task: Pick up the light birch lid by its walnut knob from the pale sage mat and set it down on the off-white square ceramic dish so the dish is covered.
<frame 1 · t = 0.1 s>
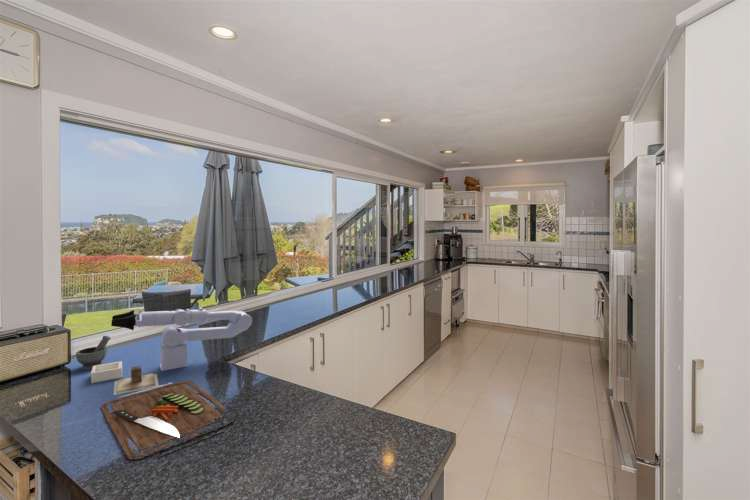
hand: (111, 320, 134), 22 cm above the countertop, tool horizontal, fingers open, 7 cm apart
mortar and pestle: (94, 366, 146), on the countertop
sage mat: (136, 384, 128), on the countertop
chopping board: (166, 415, 108), on the countertop
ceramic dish: (107, 377, 134), on the countertop
birch lid: (136, 383, 128), resting on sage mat
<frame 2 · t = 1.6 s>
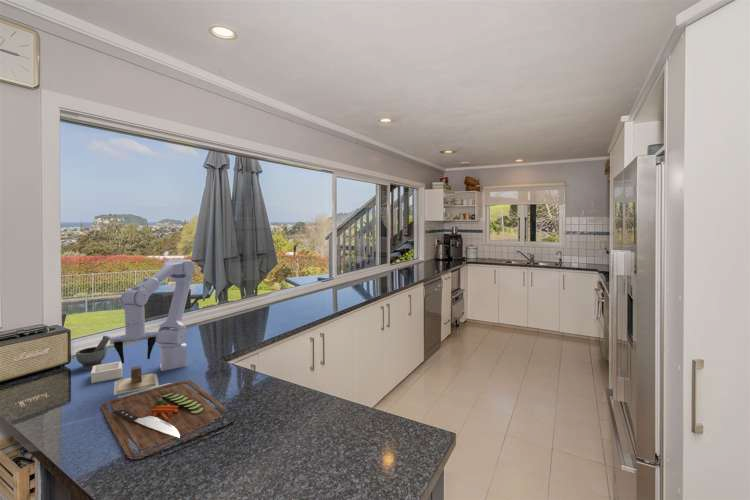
hand: (135, 360, 128), 9 cm above the countertop, tool pointing down, fingers open, 7 cm apart
nothing on the countertop moved.
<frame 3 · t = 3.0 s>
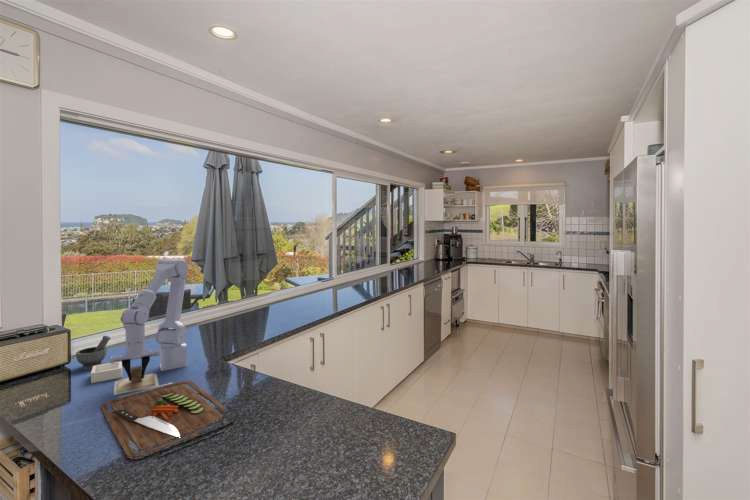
hand: (136, 378, 128), 2 cm above the countertop, tool pointing down, fingers closed on birch lid, 3 cm apart
birch lid: (136, 383, 128), resting on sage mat, touching gripper
everything else where it was.
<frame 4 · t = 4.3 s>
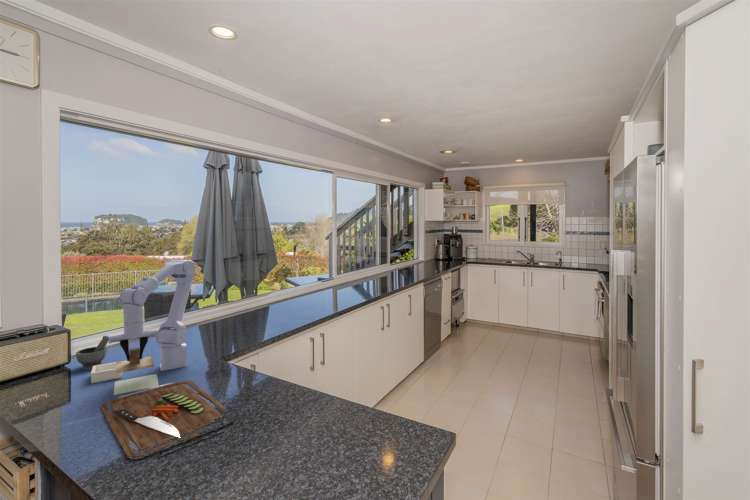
hand: (134, 359, 128), 9 cm above the countertop, tool pointing down, fingers closed on birch lid, 3 cm apart
birch lid: (134, 365, 128), point 7 cm above the countertop, touching gripper
everything else where it was.
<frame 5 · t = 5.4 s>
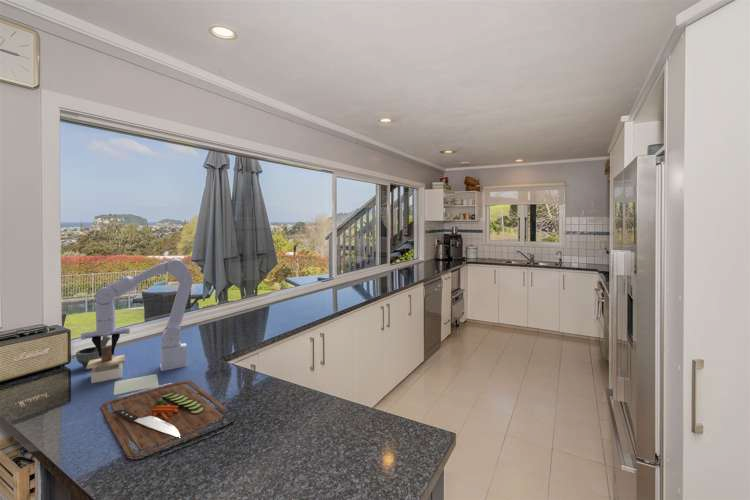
hand: (106, 354, 134), 9 cm above the countertop, tool pointing down, fingers closed on birch lid, 3 cm apart
birch lid: (106, 362, 134), point 6 cm above the countertop, touching gripper
everything else where it was.
when the fingers open (7 cm above the countertop, at t = 5.9 s): birch lid stays where it is, resting on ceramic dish.
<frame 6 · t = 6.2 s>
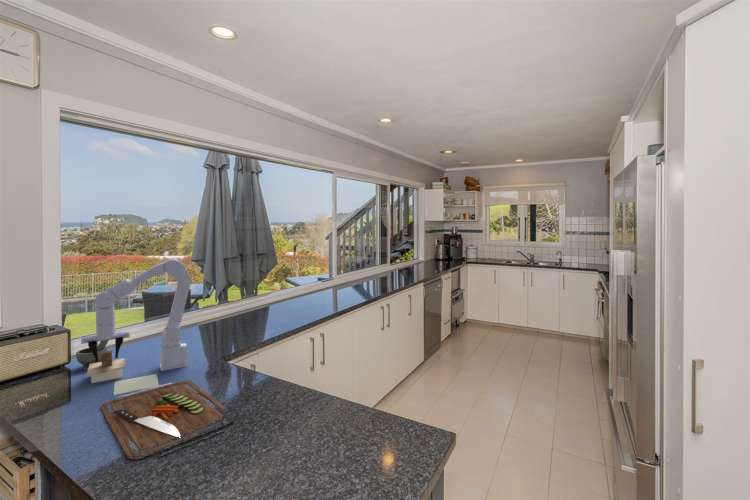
hand: (106, 359, 134), 7 cm above the countertop, tool pointing down, fingers open, 5 cm apart
birch lid: (107, 367, 134), point 4 cm above the countertop, touching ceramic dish
everything else where it was.
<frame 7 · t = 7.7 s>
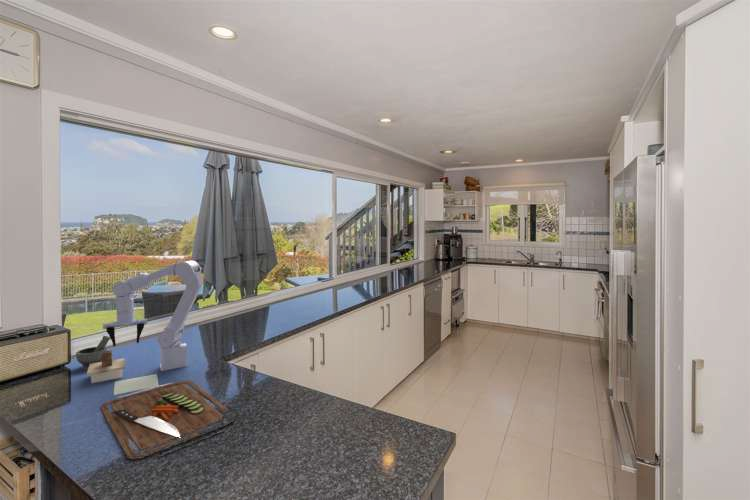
hand: (126, 344, 143), 10 cm above the countertop, tool pointing down, fingers open, 7 cm apart
nothing on the countertop moved.
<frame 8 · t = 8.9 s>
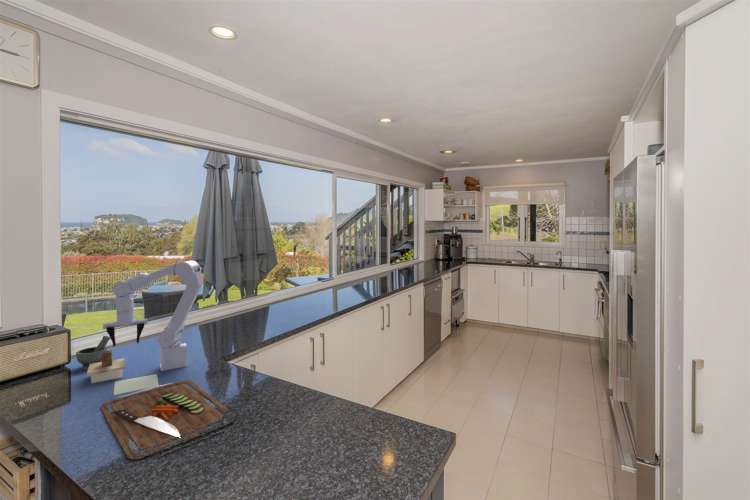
hand: (126, 344, 143), 10 cm above the countertop, tool pointing down, fingers open, 7 cm apart
nothing on the countertop moved.
at the end: birch lid 0.4 cm off-centre on the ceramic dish, point 4.0 cm above the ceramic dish's base; birch lid tilted 0°; the gripper is holding nothing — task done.
